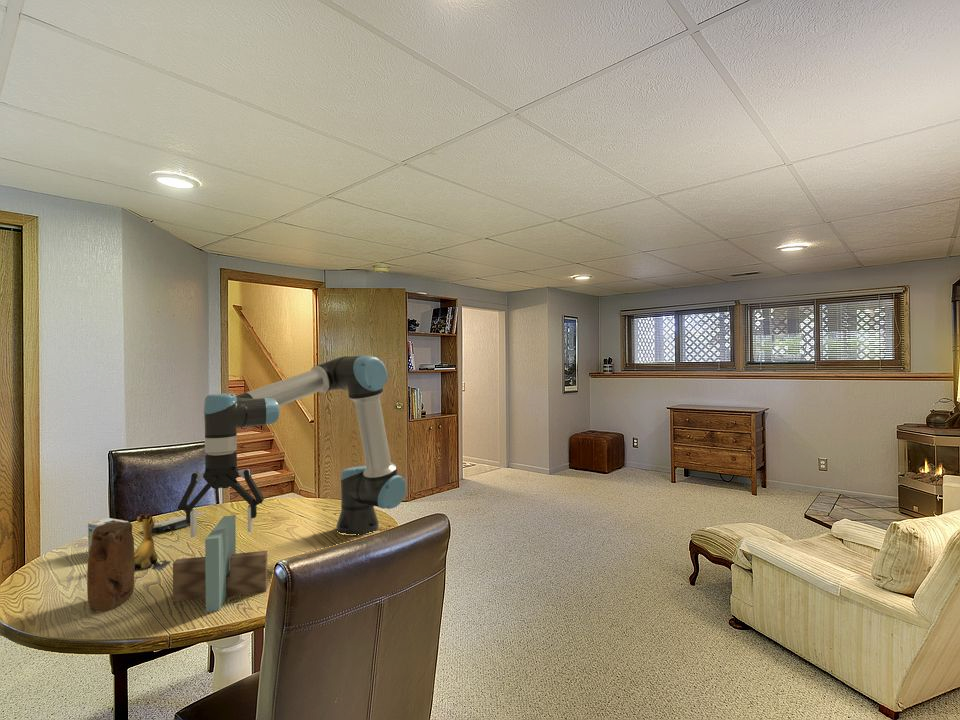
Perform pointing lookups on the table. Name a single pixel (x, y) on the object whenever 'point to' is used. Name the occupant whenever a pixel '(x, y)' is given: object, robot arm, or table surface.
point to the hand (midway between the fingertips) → (222, 533)
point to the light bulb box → (95, 524)
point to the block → (110, 566)
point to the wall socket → (172, 523)
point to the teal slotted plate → (219, 561)
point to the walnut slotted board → (242, 578)
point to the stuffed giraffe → (147, 547)
